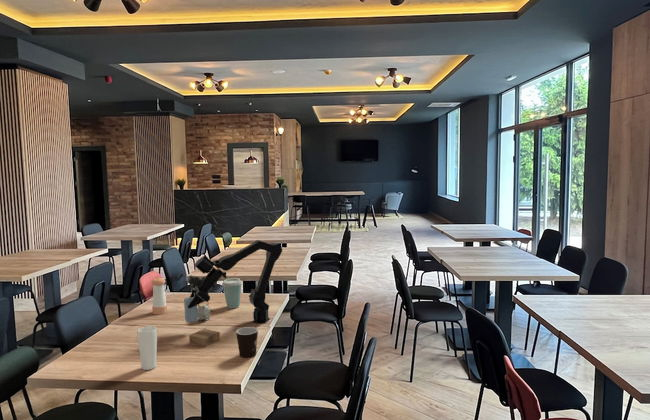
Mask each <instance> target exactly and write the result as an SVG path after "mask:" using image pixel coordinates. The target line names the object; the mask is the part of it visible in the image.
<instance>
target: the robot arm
mask: <svg viewBox="0 0 650 420" xmlns="http://www.w3.org/2000/svg"><path fill="white" fill-rule="evenodd" d="M259 250H262V251H265V260H264V261H265V262H264V265H263V267H262V271H261V273H260V276H259V279H258V281H257V285H256V287H255V288H254V289H253V288H251V289H250V294H249V295H248V298H249V302H250V304H251V305H252V306H253V307H254V308H253V312H252V315H253V318H252V319H253V321H252V322H253V323H260V324H261V323H262V324H266V323H267V322H268V321H270V319H271V318H270V317H269V309H270V305H269V304H268V303H267V302H265V301H266V290H267V288H268V287H267V286H268V283H269V281H270V277H271V275H272V272H273V269H274V266H275V264H276V262H277V261H278V259H279V258H280V257H281V254H282V252H283V248H282V246H281V245H280V244H279V243H276V242H270V243H269V242H265V241H261V240H259V239H257V240H255V241H254V242H252V243H250V244H249V245H247V246H245V247H243V248H241V249H240V250H237V251H235V252H234V253H230V254H227V255H224V256H221V257H219V259H216V260H211V259H209V257H208V256H207V255H205V254H204V255H203V256H202V257H200V258H199V259H197V260H196V262H195V264H194V268H196V269H197V270H198V271H200V272H201V273H202V274H206V275H205V276H203V277H201V278H200V277H199V276H196V275H191V274H189V277H188V279H187V283H188V284H189V285H190V290H191V293H190V296H189V297H194V298H193V299H192V301H191V302H190V304H189V306H188V308H189V309H190V308H192V307H194V306H196V305H197V306H198V304H199V305H200V304H202V303H205V302H206V303H209V301H210V300H211V296H210V295H209V292H210V291H211V290H212V289H213V288H215V287H216V286H215V285H216V284H217V283H218V282H219V280H221V278H222V277H223V278H224V279H228V278H227V271H230V270H231V269H232V268H234V267H235V266H236V265H237V263H239V262H240V261H241V260H244V259H245V258H247V257H248V256H250V255H252V254H254V253H255V252H258V251H259ZM222 270H223V271H222Z"/></svg>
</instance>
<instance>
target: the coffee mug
mask: <svg viewBox="0 0 650 420" xmlns="http://www.w3.org/2000/svg"><path fill="white" fill-rule="evenodd" d="M235 331H236V332H235V334H236V340H237V347H238V353H239V357H240V358H242V359H252V358H254V357H256V355H257V346H258V335H259V329H258V328H257V327H253V326H246V327H239V329H237V330H235Z"/></svg>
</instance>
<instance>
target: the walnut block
mask: <svg viewBox="0 0 650 420" xmlns="http://www.w3.org/2000/svg"><path fill="white" fill-rule="evenodd" d="M188 337H189V338H188V339H189V340H188V341H189V344H191V345H193V346H199V347H201V348H206V347H208V346H210V345H212V344H214V343H218V342H219V341H220V340H221V339H220V338H221V336H220V331H216V330H212V329H207V328H203V329H201V330H198V331H196V332H193V333H192V334H189V335H188Z"/></svg>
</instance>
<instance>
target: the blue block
mask: <svg viewBox="0 0 650 420" xmlns="http://www.w3.org/2000/svg"><path fill="white" fill-rule="evenodd" d="M193 298H194V297H190V296H189V297H184V298H183V304H184V306H183V307H184V308H183V309H184V320H185V322H186V323H191V322H193V323H194V322H199V318H198V312H197V309H198V305H196V306H194V307H192V308H190V309H189V308H188V306H189V304H190V302H191V301H192V299H193Z"/></svg>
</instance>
